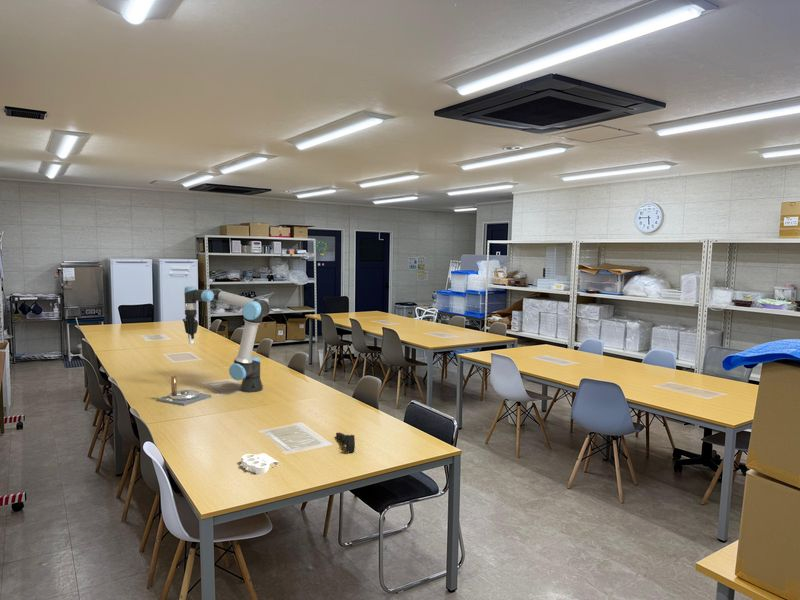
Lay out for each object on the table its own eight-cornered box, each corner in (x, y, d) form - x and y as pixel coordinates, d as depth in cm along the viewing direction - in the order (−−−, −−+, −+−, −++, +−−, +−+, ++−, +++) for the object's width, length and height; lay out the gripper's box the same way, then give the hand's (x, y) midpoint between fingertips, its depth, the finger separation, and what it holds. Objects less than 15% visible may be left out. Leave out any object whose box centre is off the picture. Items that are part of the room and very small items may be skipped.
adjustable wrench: (341, 446, 277) (355, 453, 254) (336, 447, 276) (349, 454, 253) (340, 430, 278) (354, 435, 255) (335, 430, 277) (348, 436, 254)
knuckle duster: (282, 469, 235) (251, 477, 226) (263, 457, 249) (233, 464, 239) (282, 461, 235) (251, 470, 225) (263, 450, 248) (233, 457, 239)
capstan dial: (205, 394, 346) (205, 373, 345) (183, 401, 330) (182, 379, 329) (185, 391, 354) (185, 370, 353) (163, 397, 338) (162, 376, 337)
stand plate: (211, 397, 348) (211, 393, 348) (184, 405, 327) (184, 402, 327) (185, 392, 357) (185, 389, 357) (157, 401, 336) (156, 397, 336)
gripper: (179, 309, 359) (179, 343, 361) (193, 310, 354) (194, 345, 356) (187, 308, 366) (188, 341, 368) (202, 309, 361) (202, 343, 363)
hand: (191, 343), depth 362 cm, fingers closed
